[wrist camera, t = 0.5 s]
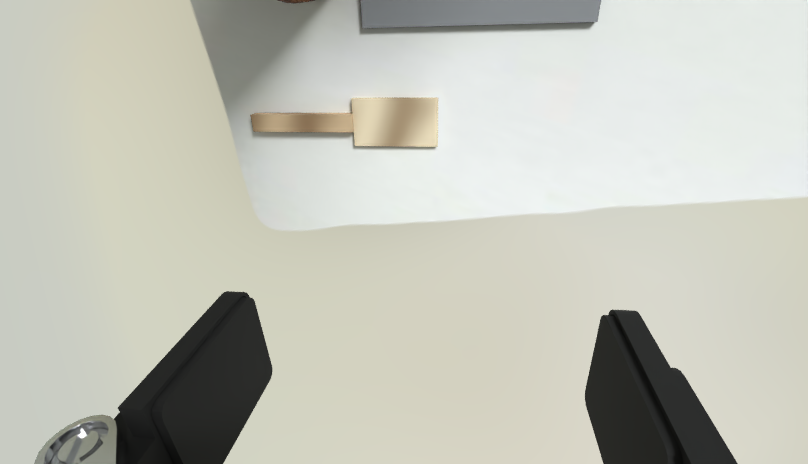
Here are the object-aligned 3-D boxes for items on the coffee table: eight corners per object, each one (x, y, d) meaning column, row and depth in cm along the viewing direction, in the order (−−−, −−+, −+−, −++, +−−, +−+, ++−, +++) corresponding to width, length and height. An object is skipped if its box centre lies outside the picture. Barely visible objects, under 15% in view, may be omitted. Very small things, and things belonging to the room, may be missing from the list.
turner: (260, 143, 41) (256, 145, 40) (252, 98, 39) (247, 99, 38) (437, 145, 39) (436, 147, 38) (438, 97, 37) (437, 99, 36)
